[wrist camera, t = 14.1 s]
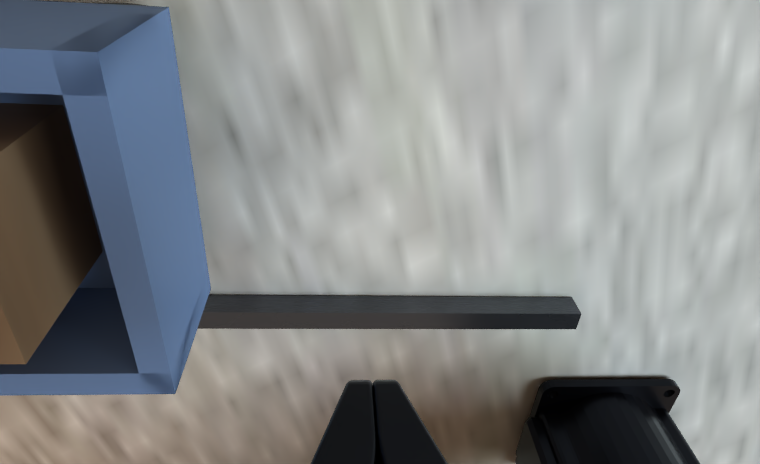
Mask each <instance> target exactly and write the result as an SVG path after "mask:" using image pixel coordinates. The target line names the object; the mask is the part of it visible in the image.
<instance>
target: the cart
mask: <svg viewBox="0 0 760 464" xmlns="http://www.w3.org/2000/svg"><path fill="white" fill-rule="evenodd" d="M0 103H19V104H45V105H63V107H64V111H65V114H66V118H67V122H68V125H69V129H70V133H71V136H72V140H73V144H74V147H75V151H76V155H77V158H78V162H79V166H80V169H81V173H82V177H83V180H84V184H85V188H86V191H87V195H88V199H89V202H90V206H91V210H92V213H93V217H94V221H95V224H96V228H97V232H98V235H99V239H100V243H101V246H102V250H103V252H102V253H101V255H100V256H99V257H98V259H97V260H96V262H95V263H94V265H93V266H92V268H91V269H90V271H89V272H88V274H87V275H86V277H85V278H84V280H83V281H82V283H81V284H80V285H79V287H78V288H77V290H76V291H75V293H74V294H73V296H72V297H71V299H70V300H69V302H68V303H67V305H66V306H65V308H64V309H63V311H62V312H61V313H60V315H59V316H58V318H57V319H56V321H55V322H54V324H53V325H52V327H51V328H50V330H49V331H48V333H47V334H46V336H45V337H44V339H43V340H42V341H41V343H40V344H39V346H38V347H37V349H36V350H35V352H34V353H33V355H32V356H31V358H30V359H29V361H28V362H27V364H0V395H101V394H175V393H176V390H177V387H178V384H179V381H180V378H181V375H182V373H183V370H184V367H185V364H186V361H187V358H188V355H189V352H190V349H191V346H192V343H193V340H194V337H195V334H196V331H197V328H198V325H199V322H200V319H201V316H202V313H203V310H204V307H205V304H206V301H207V299H208V296H209V293H210V290H211V287H210V280H209V273H208V267H207V260H206V253H205V247H204V240H203V233H202V227H201V220H200V213H199V206H198V200H197V193H196V186H195V180H194V173H193V166H192V160H191V153H190V146H189V140H188V133H187V126H186V120H185V113H184V106H183V100H182V93H181V86H180V80H179V73H178V66H177V59H176V53H175V46H174V39H173V33H172V26H171V19H170V13H169V7H157V6H146V5H138V4H124V3H98V4H97V3H77V2H57V1H37V0H0Z"/></svg>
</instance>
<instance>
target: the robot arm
mask: <svg viewBox="0 0 760 464" xmlns="http://www.w3.org/2000/svg"><path fill="white" fill-rule="evenodd" d="M679 393H680V389H679V387H678V385H677V384H676V383H675V381H673V380H671V379H607V380H548V381H546V382H544V383H542V384H541V386H540V387H539V390H538V393H537V396H536V399H535V402H534V405H533V408H532V411H531V415H530V417H529V418H528V420H527V421H526V422H525V425H524V429H523V432H522V435H521V438H520V441H519V444H518V447H517V450H516V455H517V457H516V464H700V463H699V461H698V459H697V458H696V456H695V455H694V453H693V451H692V450H691V448H690V447H689V445H688V443H687V442H686V440H685V439H684V437H683V435H682V434H681V432H680V431H679V429H678V428H677V426H676V424H675V423H674V421H673V420H672V418H671V416H670V415H669V412H670V410H671V408H672V406H673V404H674V402H675V401H676V399H677V397H678V395H679ZM311 464H448V463H447V462H446V460H445V458H444V457H443V455H442V453H441V452H440V450H439V448H438V447H437V445H436V443H435V442H434V440H433V439H432V437H431V435H430V434H429V432H428V430H427V429H426V427H425V425H424V424H423V422H422V420H421V419H420V417H419V415H418V414H417V412H416V410H415V409H414V407H413V405H412V404H411V402H410V400H409V399H408V397H407V396H406V394H405V392H404V391H403V389H402V387H401V386H400V384H399V383H398V382H397V381H396V380H376V381H374V382H373V385H372V382H371V381H369V380H351V381H349V382H348V383H347V384H346V386H345V388H344V390H343V393H342V395H341V397H340V399H339V402H338V404H337V406H336V408H335V411H334V413H333V415H332V417H331V420H330V422H329V424H328V426H327V429H326V431H325V433H324V435H323V438H322V440H321V442H320V444H319V446H318V449H317V451H316V453H315V455H314V458H313V460H312V462H311Z"/></svg>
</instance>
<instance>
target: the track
mask: <svg viewBox="0 0 760 464" xmlns="http://www.w3.org/2000/svg"><path fill="white" fill-rule="evenodd" d="M580 316H581V312H580V311H579V309H578V307H577V305H576V304H575V302H574V300H573V298H572V297H449V296H300V295H209V296H208V299H207V301H206V304H205V307H204V310H203V313H202V316H201V319H200V322H199V325H198V328H243V329H576V328H577V325H578V322H579V319H580Z"/></svg>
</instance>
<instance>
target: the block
mask: <svg viewBox="0 0 760 464" xmlns="http://www.w3.org/2000/svg"><path fill="white" fill-rule="evenodd" d="M102 252H103V250H102V246H101V243H100V239H99V235H98V232H97V228H96V224H95V221H94V217H93V213H92V210H91V206H90V202H89V199H88V195H87V191H86V188H85V184H84V180H83V177H82V173H81V169H80V166H79V162H78V158H77V155H76V151H75V147H74V144H73V140H72V136H71V133H70V129H69V125H68V122H67V118H66V114H65V111H64V107H63V105H45V104H19V103H0V364H27V362H28V361H29V359H30V358H31V356H32V355H33V353H34V352H35V350H36V349H37V347H38V346H39V344H40V343H41V341H42V340H43V339H44V337H45V336H46V334H47V333H48V331H49V330H50V328H51V327H52V325H53V324H54V322H55V321H56V319H57V318H58V316H59V315H60V313H61V312H62V311H63V309H64V308H65V306H66V305H67V303H68V302H69V300H70V299H71V297H72V296H73V294H74V293H75V291H76V290H77V288H78V287H79V285H80V284H81V283H82V281H83V280H84V278H85V277H86V275H87V274H88V272H89V271H90V269H91V268H92V266H93V265H94V263H95V262H96V260H97V259H98V257H99V256H100V255H101V253H102Z"/></svg>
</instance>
